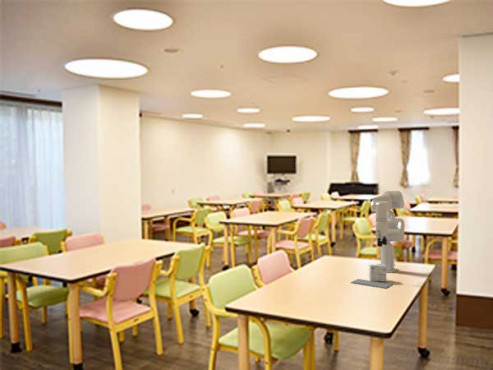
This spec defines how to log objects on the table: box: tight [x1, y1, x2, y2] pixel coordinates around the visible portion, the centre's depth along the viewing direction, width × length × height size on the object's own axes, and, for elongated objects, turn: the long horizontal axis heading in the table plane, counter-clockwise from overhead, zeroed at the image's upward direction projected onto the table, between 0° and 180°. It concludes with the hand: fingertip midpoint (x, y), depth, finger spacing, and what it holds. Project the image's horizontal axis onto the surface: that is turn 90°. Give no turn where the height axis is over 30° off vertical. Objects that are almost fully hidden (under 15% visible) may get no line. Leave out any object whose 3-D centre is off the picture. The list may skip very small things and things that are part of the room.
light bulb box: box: [368, 263, 387, 282], centre depth 282 cm, size 11×7×11 cm, turn 84°
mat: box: [350, 278, 393, 290], centre depth 275 cm, size 10×24×1 cm, turn 49°
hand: (382, 245), depth 289 cm, fingers open, 7 cm apart
